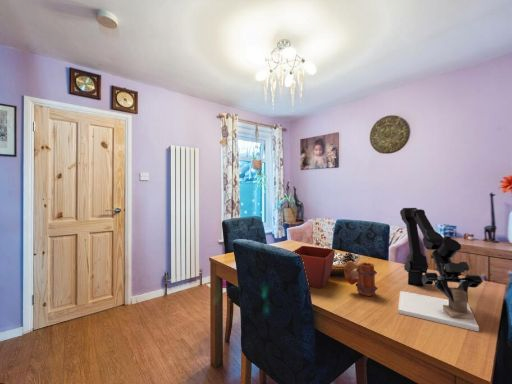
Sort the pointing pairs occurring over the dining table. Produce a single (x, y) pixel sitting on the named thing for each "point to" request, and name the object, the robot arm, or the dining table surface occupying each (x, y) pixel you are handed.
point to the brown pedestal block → (458, 305)
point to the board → (431, 310)
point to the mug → (362, 277)
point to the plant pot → (317, 264)
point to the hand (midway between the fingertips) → (459, 302)
